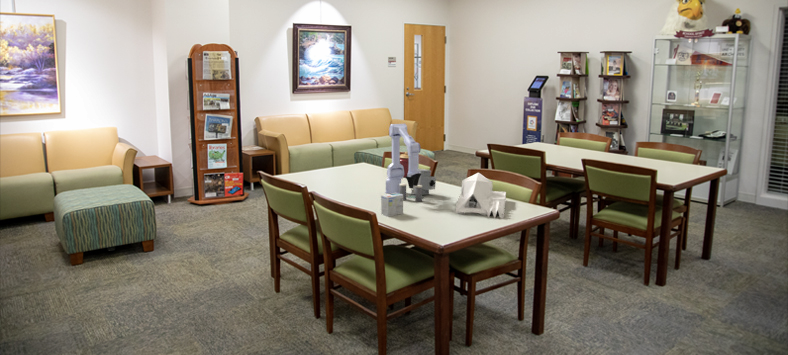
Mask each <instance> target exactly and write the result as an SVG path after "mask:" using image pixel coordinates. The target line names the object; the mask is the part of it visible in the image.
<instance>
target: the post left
mask: <svg viewBox="0 0 788 355" xmlns="http://www.w3.org/2000/svg"><path fill="white" fill-rule="evenodd" d="M399 185H400V194H403V201H405V200H407V183H402V182H401V184H399Z"/></svg>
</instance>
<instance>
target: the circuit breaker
mask: <svg viewBox="0 0 788 355" xmlns="http://www.w3.org/2000/svg"><path fill="white" fill-rule="evenodd" d="M418 169H419V172H420V173H421V176H420V178H419V181H418V185H422V196H425V195H429V194H430V191H431V190H436V182H437V177H436V176H431V174H432V170H431V169H424V168H418ZM410 189H411V190H410V193H411V194H414V195H415V186H413V188H410Z"/></svg>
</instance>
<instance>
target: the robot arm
mask: <svg viewBox="0 0 788 355" xmlns="http://www.w3.org/2000/svg"><path fill="white" fill-rule="evenodd" d="M388 134H389V137H390V138H391V163H390V164H388V165H387V169H386V176H387V178H386V179H385V192H384V193H385V194H392V193H399V194H400V185H399V184H402V180H403V178H404V177H403V176H404V168H403V165H401V164H400V155H401V153H400V152H401V150H400V141H401V140H400V139H401V137H402V138H403V143H404V144H405V146H406V152H408V156H409V171H408V174H407V176H406V177H405V179H406V181H407V184H408V188H409V189H412V188H413V186H417V185H418V181H419V178H420V176H421V173H420V172H419V169H420V168H419V165H420V164H419V158H420V156H419V155H420V154H419V153H420V152H421V144H420V143H419V142H416V141H415V139H414V138H413V136H412V135H410V134H409V132H408V125H407V124H406V123H391V124H390V125H389V128H388Z"/></svg>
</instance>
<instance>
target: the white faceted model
mask: <svg viewBox="0 0 788 355" xmlns="http://www.w3.org/2000/svg"><path fill="white" fill-rule="evenodd" d="M460 191H461V192H460V194H459V196H458V197H457V200H456V208H455V212H454V213H455V214H463V215H464V214H467V213H468V214H469V213H474V214H475V213H476V214H480V216H481V215H482V216H487V218H490V215H491V213H492V215H493V218H494V219H495V218H496V217H497V214H498V216H499V218H500V219H504V217H505V214H506V208H505V207H506V201H507V200H506V198H507V196H506V195H507V192H506V191H497V190H496V191H495V190H493V180H490V179H489V178H487V177H485V176H484V175H483V174H482V173H480V172H477V173H475V174H473V175H471V176H469V177H466V178H465V179H462V180H461V190H460ZM470 200H471V201H470ZM472 200H475V201H476V202H475V201H472ZM505 200H506V201H505ZM475 205H476V206H475ZM504 208H505V209H504ZM504 213H505V214H504Z"/></svg>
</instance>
